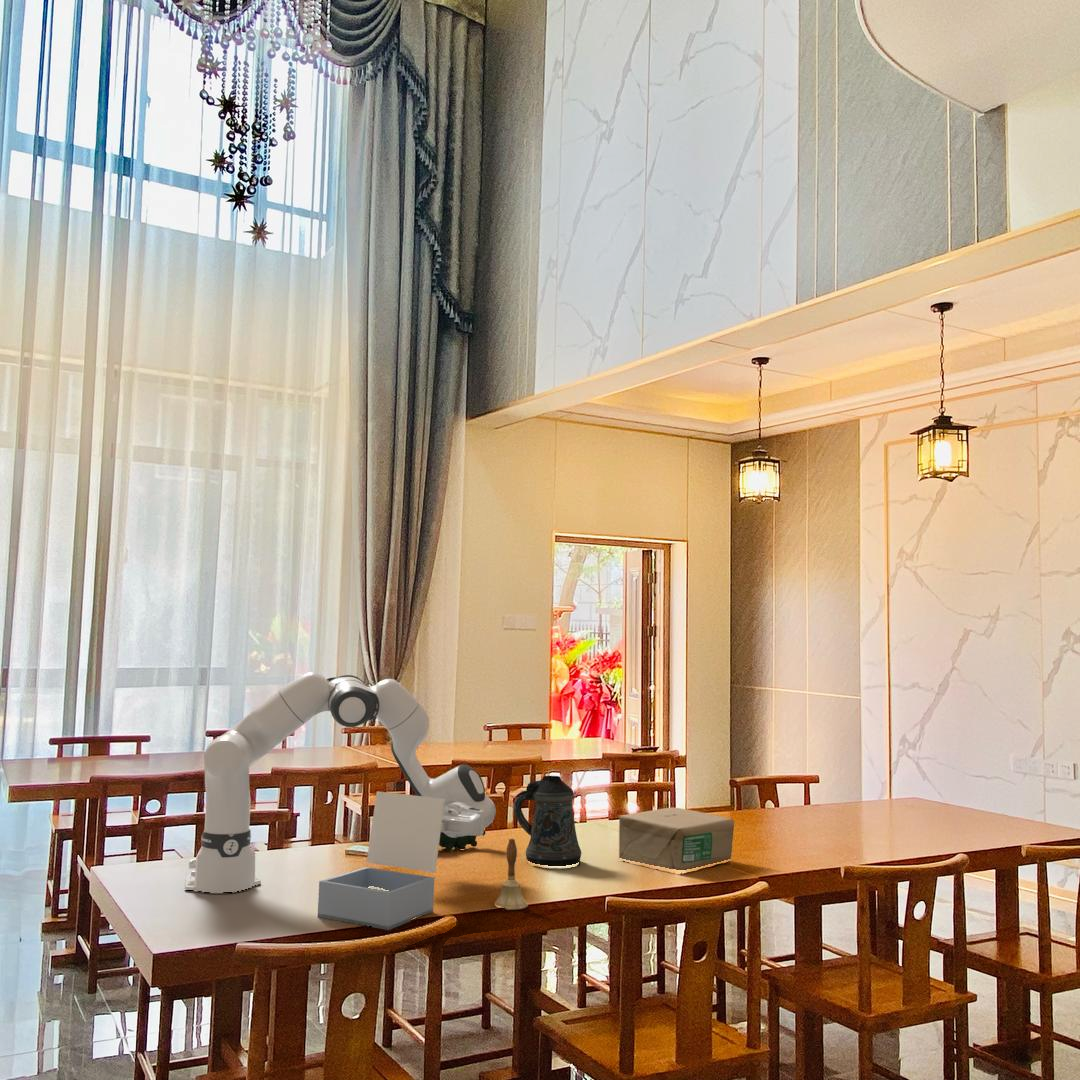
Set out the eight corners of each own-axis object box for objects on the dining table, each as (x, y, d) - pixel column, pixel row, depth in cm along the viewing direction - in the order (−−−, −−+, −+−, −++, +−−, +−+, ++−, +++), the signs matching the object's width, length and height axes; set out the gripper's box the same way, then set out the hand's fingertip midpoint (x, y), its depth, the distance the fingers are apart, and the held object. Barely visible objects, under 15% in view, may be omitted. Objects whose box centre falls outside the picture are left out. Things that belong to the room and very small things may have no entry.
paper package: (681, 876, 284) (681, 826, 286) (613, 861, 303) (614, 813, 304) (737, 864, 303) (737, 816, 304) (670, 850, 321) (670, 805, 323)
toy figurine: (475, 850, 320) (401, 848, 309) (482, 789, 323) (408, 785, 312) (487, 856, 312) (411, 854, 301) (494, 793, 314) (419, 789, 303)
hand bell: (494, 910, 243) (496, 842, 245) (493, 901, 251) (495, 835, 253) (529, 910, 244) (530, 842, 245) (526, 901, 252) (528, 836, 254)
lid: (366, 862, 249) (369, 862, 250) (433, 872, 240) (435, 872, 241) (376, 791, 253) (379, 791, 254) (442, 798, 244) (445, 798, 245)
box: (365, 900, 249) (366, 866, 250) (433, 911, 240) (434, 877, 240) (317, 916, 233) (319, 881, 233) (388, 930, 224) (390, 893, 224)
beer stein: (590, 867, 292) (592, 779, 294) (528, 871, 285) (530, 781, 287) (567, 855, 307) (569, 772, 310) (507, 859, 300) (510, 774, 302)
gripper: (423, 804, 273) (393, 811, 261) (489, 811, 263) (461, 818, 251) (423, 828, 272) (393, 836, 260) (488, 835, 263) (460, 844, 251)
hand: (427, 827), depth 255 cm, fingers closed
